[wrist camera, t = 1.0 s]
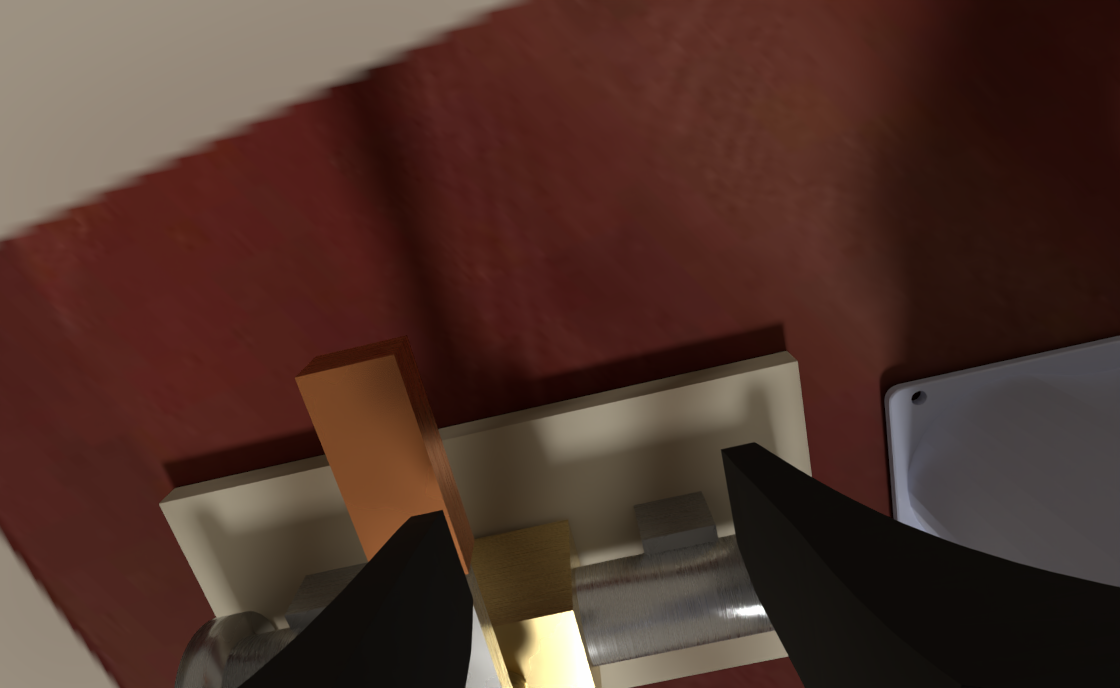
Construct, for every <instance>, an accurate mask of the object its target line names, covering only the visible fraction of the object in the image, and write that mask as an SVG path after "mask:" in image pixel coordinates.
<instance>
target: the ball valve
mask: <svg viewBox="0 0 1120 688" xmlns="http://www.w3.org/2000/svg"><path fill="white" fill-rule="evenodd" d="M634 510H635V514H636V519H637V523H638V527H639V532H640V536H641V540H642V545H643V549H644V553H642V554H638V555H633V556H628V557H623V558H618V559H614V560H609V561H604V562H599V563H595V564H590V565H585V566H581V565H580V561H579V558H578V554H577V550H576V546H575V543H574V539H573V535H572V532H571V528H570V524H569V521H568V519H567V520H563V521H558V522H553V523H549V524H544V525H539V526H535V527H530V528H525V529H521V530H516V531H511V532H507V533H502V534H497V535H493V536H488V537H483V538H478V539H474V540H475V541H474V547H473V552H472V558H471V565H472V568H473V571H474V574H475V577H476V580H477V583H478V586H479V589H480V592H481V595H482V598H483V601H484V604H485V607H486V610H487V613H488V616H489V619H490V622H491V625H492V628H493V631H494V633H495V636H496V639H497V642H498V645H499V648H500V651H501V654H502V657H503V660H504V663H505V666H506V669H507V672H508V675H509V678H510V681H511V684H512V687H513V688H602V683H601V673H600V666H601V665H606V664H611V663H616V662H621V661H626V660H631V659H635V658H640V657H645V656H650V655H655V654H660V653H665V652H670V651H675V650H680V649H685V648H690V647H695V646H700V645H705V644H710V643H715V642H720V641H725V640H730V639H735V638H740V637H745V636H750V635H755V634H760V633H765V632H770V631H775V629H774V628H773V626H772V624H771V622H770V620H769V618H768V616H767V614H766V612H765V610H764V608H763V606H762V604H761V603H760V601H759V599H758V597H757V595H756V593H755V590H754V587H753V585H752V582H751V580H750V577H749V574H748V572H747V569H746V567H745V564H744V561H743V559H742V556H741V553H740V550H739V548H738V545H737V541H736V535H735V534H733V535H728V536H724V537H719V538H718V534H717V529H716V524H715V522H714V519H713V517H712V515H711V512H710V510H709V508H708V505H707V503H706V500H705V498H704V496H703V493H702V491H698V492H694V493H689V494H684V495H680V496H675V497H670V498H666V499H661V500H656V501H652V502H647V503H642V504H638V505H634ZM367 563H368V562H366V563H362V564H357V565H352V566H348V567H343V568H338V569H334V570H329V571H324V572H320V573H315V574H310V575H306V576H305V578H304V580H303V582H302V584H301V585H300V587H299V589H298V591H297V593H296V595H295V597H294V598H293V600H292V602H291V604H290V606H289V608H288V610H287V611H286V613H285V615H284V616H285V618H286V620H287V623H288V625H289V628H284V629H279V630H275V629H274V627H273V626H272V624H271V623H270V622H269V620H268V619H267V618H266V617H264V616H263V615H262V614H260V613H257V612H254V611H245V612H241V613H236V614H231V615H227V616H222V617H218V618H214V619H212V620H210V621H208V622H207V623H205V624H204V625H203V626H202V627H201V628H200V629H199V630H198V631H197V632H196V633H195V634H194V636H193V637H192V639H191V640H190V642H189V643H188V645H187V647H186V649H185V651H184V654H183V656H182V659H181V662H180V665H179V668H178V672H177V676H176V681H175V688H237V687H239V686H240V685H241V684H242V683H244V682H245V681H246V680H247V679H249V678H250V677H251V676H252V675H253V674H255V673H256V672H257V671H258V670H259V669H260V668H262V667H263V666H264V665H265V664H266V663H267V662H269V661H270V660H271V659H272V658H273V657H274V656H276V655H277V654H278V653H279V652H280V651H281V650H282V649H283V648H285V647H286V646H287V645H288V644H289V643H290V642H291V641H292V640H293V639H294V638H295V637H296V636H298V635H299V634H300V633H301V632H302V631H303V630H304V629H305V628H306V627H307V626H308V625H309V624H310V623H311V622H312V621H313V620H314V619H315V618H316V617H317V616H318V615H319V614H320V613H321V612H322V611H323V610H324V609H325V608H326V607H327V606H328V605H329V604H330V603H331V602H332V601H333V600H334V599H335V598H336V597H337V595H338V594H339V593H340V592H341V591H342V590H343V589H344V588H345V587H346V586H347V585H348V584H349V583H350V582H351V581H352V580H353V579H354V577H355V576H356V575H357V574H358V573H359V572H360V571H361V570H362V569H363V568H364V566H365V565H366V564H367Z"/></svg>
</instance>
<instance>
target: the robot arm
mask: <svg viewBox="0 0 1120 688" xmlns="http://www.w3.org/2000/svg"><path fill="white" fill-rule="evenodd" d="M918 391H921V393H920V396H919V397H918V398H917V399H915V400H913V401H912V400H911V399H912V396H913V394H914V393H916V392H918ZM884 402H885V414H886V427H887V440H888V453H889V465H890V478H891V491H892V504H893V517H894V519H892V518H890V517H888V516H886V515H883V514H881V513H879V512H877V511H875V510H873V509H871V508H869V507H867V506H865V505H863V504H861V503H859V502H857V501H855V500H853V499H851V498H849V497H847V496H845V495H843V494H841V493H839V492H837V491H835V490H834V489H832V488H830V487H828V486H826V485H825V484H823V483H821V482H819V481H818V480H816V479H814V478H812V477H811V476H809V475H807V474H806V473H804V472H802V471H801V470H799V469H797V468H796V467H794V466H792V465H791V464H789V463H788V462H786V461H784V460H783V459H781V458H780V457H778V456H776V455H775V454H773V453H772V452H770V451H768V450H767V449H765V448H764V447H762V446H760V445H759V444H757V443H755V442H752V443H748V444H743V445H738V446H734V447H729V448H725V449H721V454H722V460H723V466H724V471H725V477H726V483H727V489H728V494H729V500H730V506H731V512H732V517H733V523H734V529H735V535H736V541H737V545H738V548H739V550H740V553H741V556H742V559H743V561H744V564H745V567H746V569H747V572H748V574H749V577H750V580H751V582H752V585H753V587H754V590H755V593H756V595H757V597H758V599H759V601H760V603H761V604H762V606H763V608H764V610H765V612H766V614H767V616H768V618H769V620H770V622H771V624H772V626H773V628H774V629H775V631H776V633H777V635H778V637H779V639H780V641H781V643H782V645H783V647H784V648H785V650H786V652H787V654H788V656H789V658H790V660H791V662H792V664H793V666H794V667H795V669H796V671H797V673H798V675H799V677H800V679H801V681H802V683H803V684H804V686H805V688H1120V336H1115V337H1111V338H1106V339H1102V340H1097V341H1093V342H1088V343H1083V344H1079V345H1074V346H1070V347H1065V348H1061V349H1056V350H1052V351H1047V352H1042V353H1038V354H1033V355H1029V356H1024V357H1020V358H1015V359H1011V360H1006V361H1001V362H997V363H992V364H988V365H983V366H979V367H974V368H970V369H965V370H960V371H956V372H951V373H947V374H942V375H938V376H933V377H928V378H924V379H919V380H915V381H910V382H906V383H901V384H897V385H895V386H892V387H891V388H890V389H889V390H888V391H887V393H886V395H885V400H884ZM472 629H473V597H472V594H471V591H470V588H469V585H468V582H467V579H466V576H465V573H464V570H463V567H462V564H461V562H460V559H459V556H458V553H457V550H456V547H455V544H454V541H453V538H452V535H451V532H450V529H449V527H448V524H447V521H446V518H445V515H444V512H443V510H439V511H434V512H430V513H425V514H421V515H416V516H411V517H410V518H409V519H408V520H407V521H406V522H405V523H404V524H403V525H402V526H401V527H400V528H399V529H398V530H397V531H396V532H395V533H394V534H393V535H392V536H391V538H390V539H389V540H388V541H387V542H386V543H385V544H384V545H383V546H382V548H381V549H380V550H379V551H378V552H377V553H376V554H375V555H374V557H373V558H372V559H371V560H370V561H369V562H368V563H367V564H366V565H365V566H364V568H363V569H362V570H361V571H360V572H359V573H358V574H357V575H356V576H355V577H354V579H353V580H352V581H351V582H350V583H349V584H348V585H347V586H346V587H345V588H344V589H343V590H342V591H341V592H340V593H339V594H338V595H337V597H336V598H335V599H334V600H333V601H332V602H331V603H330V604H329V605H328V606H327V607H326V608H325V609H324V610H323V611H322V612H321V613H320V614H319V615H318V616H317V617H316V618H315V619H314V620H313V621H312V622H311V623H310V624H309V625H308V626H307V627H306V628H305V629H304V630H303V631H302V632H301V633H300V634H299V635H298V636H296V637H295V638H294V639H293V640H292V641H291V642H290V643H289V644H288V645H287V646H286V647H285V648H283V649H282V650H281V651H280V652H279V653H278V654H277V655H276V656H274V657H273V658H272V659H271V660H270V661H269V662H267V663H266V664H265V665H264V666H263V667H262V668H260V669H259V670H258V671H257V672H256V673H255V674H253V675H252V676H251V677H250V678H249V679H247V680H246V681H245V682H244V683H242V684H241V685H240V686H239V687H237V688H466V682H467V676H468V670H469V663H470V657H471V649H472Z"/></svg>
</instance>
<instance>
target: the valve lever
mask: <svg viewBox="0 0 1120 688" xmlns="http://www.w3.org/2000/svg"><path fill="white" fill-rule="evenodd" d="M295 379H296V382H297V384H298V387H299V389H300V392H301V395H302V397H303V400H304V402H305V405H306V407H307V410H308V412H309V415H310V417H311V420H312V422H313V425H314V427H315V430H316V432H317V435H318V437H319V440H320V442H321V445H322V447H323V450H324V452H325V455H326V457H327V460H328V462H329V465H330V467H331V470H332V472H333V475H334V477H335V480H336V482H337V485H338V487H339V490H340V492H341V495H342V497H343V500H344V502H345V505H346V507H347V510H348V512H349V515H350V517H351V520H352V522H353V525H354V527H355V530H356V532H357V535H358V537H359V540H360V542H361V545H362V547H363V550H364V552H365V555H366V557H367V560H368V562H369V561H370V560H371V559H372V558H373V557H374V555H375V554H376V553H377V552H378V551H379V550H380V549H381V548H382V546H383V545H384V544H385V543H386V542H387V541H388V540H389V539H390V538H391V536H392V535H393V534H394V533H395V532H396V531H397V530H398V529H399V528H400V527H401V526H402V525H403V524H404V523H405V522H406V521H407V520H408V519H409V518H410V517H411V516H416V515H421V514H425V513H430V512H434V511H439V510H443V512H444V515H445V518H446V521H447V524H448V527H449V529H450V532H451V535H452V538H453V541H454V544H455V547H456V550H457V553H458V556H459V559H460V562H461V564H462V567H463V570H464V573H465V576H466V579H467V582H468V585H469V588H470V591H471V594H472V597H473V629H472V649H471V657H470V663H469V670H468V676H467V682H466V688H513V687H512V684H511V681H510V678H509V675H508V672H507V669H506V666H505V663H504V660H503V657H502V654H501V651H500V648H499V645H498V642H497V639H496V636H495V633H494V631H493V628H492V625H491V622H490V619H489V616H488V613H487V610H486V607H485V604H484V601H483V598H482V595H481V592H480V589H479V586H478V583H477V580H476V577H475V574H474V571H473V568H472V565H471V558H472V552H473V547H474V541H475V540H474V537H473V534H472V531H471V528H470V525H469V521H468V518H467V515H466V512H465V509H464V506H463V503H462V500H461V497H460V494H459V491H458V488H457V485H456V482H455V479H454V476H453V473H452V470H451V467H450V464H449V461H448V458H447V455H446V452H445V449H444V446H443V443H442V440H441V437H440V434H439V431H438V428H437V425H436V422H435V418H434V415H433V412H432V409H431V406H430V403H429V400H428V397H427V394H426V391H425V388H424V385H423V382H422V379H421V376H420V373H419V370H418V367H417V364H416V361H415V358H414V355H413V352H412V349H411V346H410V343H409V340H408V337H407V335H406V336H402V337H397V338H393V339H389V340H385V341H380V342H376V343H372V344H367V345H363V346H359V347H355V348H350V349H346V350H342V351H337V352H333V353H329V354H325V355H320V356H316V357H315V358H314V359H313V360H312V361H311V362H310V363H309V364H308V365H307V366H306V367H305V368H304V369H303V370H302V371H301V372H300V373H299V374H298V375H297V376H296V377H295Z"/></svg>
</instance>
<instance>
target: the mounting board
mask: <svg viewBox="0 0 1120 688" xmlns="http://www.w3.org/2000/svg"><path fill="white" fill-rule="evenodd" d="M438 431H439V434H440V437H441V440H442V443H443V446H444V449H445V452H446V455H447V458H448V461H449V464H450V467H451V470H452V473H453V476H454V479H455V482H456V485H457V488H458V491H459V494H460V497H461V500H462V503H463V506H464V509H465V512H466V515H467V518H468V521H469V525H470V528H471V531H472V534H473V537H474V539H478V538H483V537H488V536H493V535H497V534H502V533H507V532H511V531H516V530H521V529H525V528H530V527H535V526H539V525H544V524H549V523H553V522H558V521H563V520H567V519H568V521H569V524H570V528H571V532H572V535H573V539H574V543H575V546H576V550H577V554H578V558H579V561H580V565H581V566H585V565H590V564H595V563H599V562H604V561H609V560H614V559H618V558H623V557H628V556H633V555H638V554H642V553H644V549H643V545H642V540H641V536H640V532H639V527H638V523H637V519H636V514H635V510H634V505H638V504H642V503H647V502H652V501H656V500H661V499H666V498H670V497H675V496H680V495H684V494H689V493H694V492H698V491H702V493H703V496H704V498H705V500H706V503H707V505H708V508H709V510H710V512H711V515H712V517H713V519H714V522H715V524H716V529H717V534H718V538H719V537H724V536H728V535H733V534H735V529H734V523H733V517H732V512H731V506H730V500H729V494H728V489H727V483H726V477H725V471H724V466H723V460H722V454H721V449H725V448H729V447H734V446H738V445H743V444H748V443H752V442H755V443H757V444H759V445H760V446H762V447H764V448H765V449H767V450H768V451H770V452H772V453H773V454H775V455H776V456H778V457H780V458H781V459H783V460H784V461H786V462H788V463H789V464H791V465H792V466H794V467H796V468H797V469H799V470H801V471H802V472H804V473H806V474H807V475H809V476H811V477H812V474H811V466H810V458H809V450H808V442H807V434H806V426H805V417H804V409H803V401H802V393H801V385H800V377H799V369H798V361H797V360H796V359H795V358H794V357H793V356H792V355H791V354H789V353H788V352H787V351H784V352H779V353H775V354H770V355H766V356H761V357H757V358H753V359H748V360H744V361H739V362H735V363H730V364H726V365H721V366H717V367H712V368H708V369H704V370H699V371H695V372H690V373H686V374H681V375H677V376H672V377H668V378H663V379H659V380H655V381H650V382H646V383H641V384H637V385H632V386H628V387H623V388H619V389H614V390H610V391H606V392H601V393H597V394H592V395H588V396H583V397H579V398H574V399H570V400H565V401H561V402H557V403H552V404H548V405H543V406H539V407H534V408H530V409H525V410H521V411H516V412H512V413H508V414H503V415H499V416H494V417H490V418H485V419H481V420H476V421H472V422H467V423H463V424H459V425H454V426H450V427H445V428H441V429H438ZM159 505H160V507H161V509H162V511H163V513H164V515H165V517H166V519H167V521H168V523H169V525H170V527H171V529H172V531H173V533H174V535H175V537H176V539H177V541H178V543H179V544H180V546H181V548H182V550H183V552H184V554H185V556H186V558H187V560H188V562H189V564H190V566H191V568H192V570H193V572H194V574H195V576H196V578H197V580H198V582H199V584H200V586H201V588H202V590H203V592H204V594H205V596H206V598H207V600H208V602H209V604H210V605H211V607H212V609H213V611H214V613H215V615H216V617H217V618H218V617H222V616H227V615H231V614H236V613H241V612H245V611H254V612H257V613H260V614H262V615H263V616H264V617H266V618H267V619H268V620H269V622H270V623H271V624H272V626H273V627H274V629H275V630H279V629H284V628H289V625H288V623H287V620H286V618H285V616H284V615H285V613H286V611H287V610H288V608H289V606H290V604H291V602H292V600H293V598H294V597H295V595H296V593H297V591H298V589H299V587H300V585H301V584H302V582H303V580H304V578H305V576H306V575H310V574H315V573H320V572H324V571H329V570H334V569H338V568H343V567H348V566H352V565H357V564H362V563H366V562H368V560H367V557H366V555H365V552H364V550H363V547H362V545H361V542H360V540H359V537H358V535H357V532H356V530H355V527H354V525H353V522H352V520H351V517H350V515H349V512H348V510H347V507H346V505H345V502H344V500H343V497H342V495H341V492H340V490H339V487H338V485H337V482H336V480H335V477H334V475H333V472H332V470H331V467H330V465H329V462H328V460H327V457H326V455H321V456H316V457H312V458H307V459H303V460H298V461H294V462H289V463H285V464H280V465H276V466H272V467H267V468H263V469H258V470H254V471H249V472H245V473H240V474H236V475H231V476H227V477H223V478H218V479H214V480H209V481H205V482H200V483H196V484H191V485H187V486H182V487H178V488H175V489H174V490H172V491H171V492H170V493H169V494H168V495H167V496H166V497H165V498H164V499H163V500H162V501H161V502H160V503H159ZM787 656H788V654H787V652H786V650H785V648H784V647H783V645H782V643H781V641H780V639H779V637H778V635H777V633H776V631H770V632H765V633H760V634H755V635H750V636H745V637H740V638H735V639H730V640H725V641H720V642H715V643H710V644H705V645H700V646H695V647H690V648H685V649H680V650H675V651H670V652H665V653H660V654H655V655H650V656H645V657H640V658H635V659H631V660H626V661H621V662H616V663H611V664H606V665H601V666H600V673H601V683H602V688H630V687H635V686H640V685H645V684H650V683H655V682H660V681H665V680H670V679H675V678H680V677H685V676H690V675H695V674H700V673H706V672H711V671H716V670H721V669H726V668H731V667H736V666H741V665H746V664H751V663H756V662H761V661H766V660H771V659H776V658H781V657H787Z"/></svg>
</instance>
